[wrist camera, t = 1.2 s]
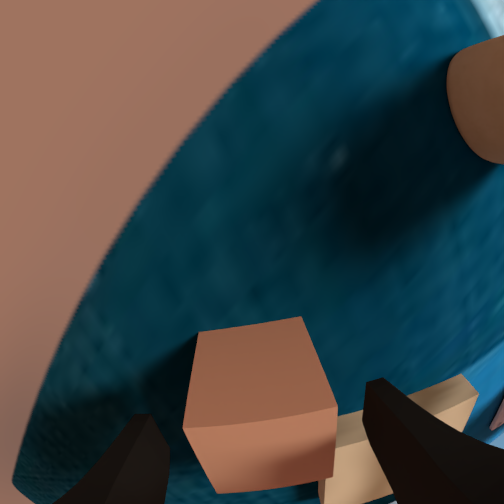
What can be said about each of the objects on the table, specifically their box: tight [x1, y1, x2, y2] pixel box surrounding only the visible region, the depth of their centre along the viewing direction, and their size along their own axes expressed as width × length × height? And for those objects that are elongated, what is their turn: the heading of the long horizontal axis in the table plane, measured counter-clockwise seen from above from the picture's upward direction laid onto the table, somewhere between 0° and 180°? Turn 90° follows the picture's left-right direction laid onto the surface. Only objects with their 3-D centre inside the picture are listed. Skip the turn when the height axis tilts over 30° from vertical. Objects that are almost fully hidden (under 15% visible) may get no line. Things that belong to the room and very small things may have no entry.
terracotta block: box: [183, 317, 338, 494], centre depth 10 cm, size 4×4×5 cm
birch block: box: [318, 374, 479, 504], centre depth 14 cm, size 9×9×2 cm
